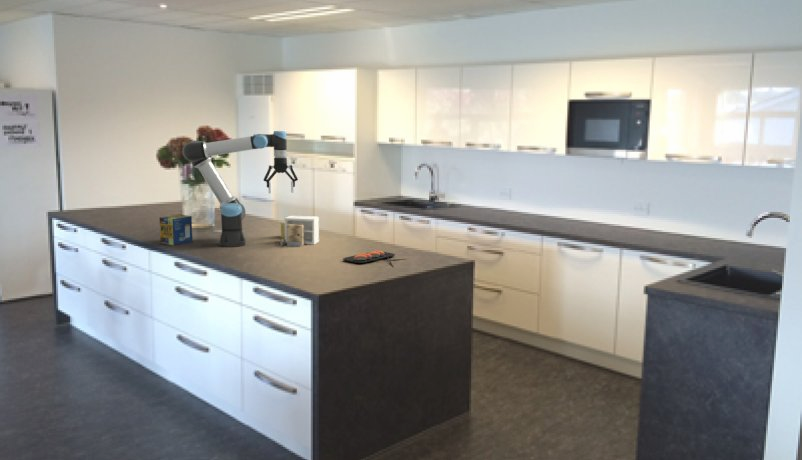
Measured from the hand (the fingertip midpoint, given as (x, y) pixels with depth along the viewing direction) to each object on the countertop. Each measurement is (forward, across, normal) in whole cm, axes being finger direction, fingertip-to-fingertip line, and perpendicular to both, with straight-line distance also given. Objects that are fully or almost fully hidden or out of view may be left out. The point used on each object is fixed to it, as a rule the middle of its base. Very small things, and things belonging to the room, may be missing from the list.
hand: (281, 192), depth 403 cm
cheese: (+29, +7, +7) cm, 31 cm away
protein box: (+29, -60, +10) cm, 67 cm away
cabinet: (+29, +8, -14) cm, 33 cm away
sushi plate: (+29, +37, -74) cm, 88 cm away
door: (+29, +4, -19) cm, 35 cm away
